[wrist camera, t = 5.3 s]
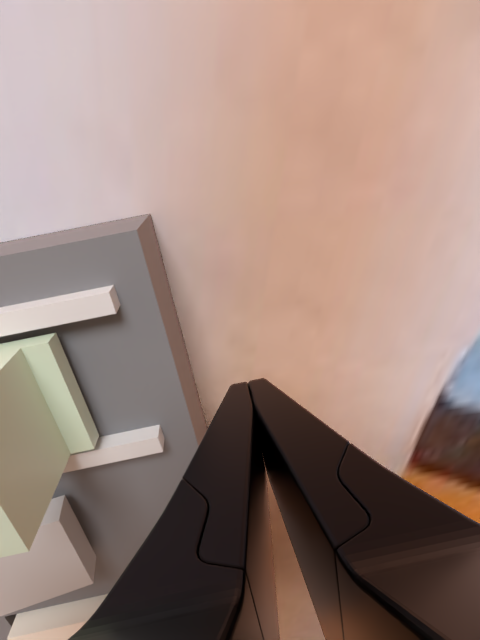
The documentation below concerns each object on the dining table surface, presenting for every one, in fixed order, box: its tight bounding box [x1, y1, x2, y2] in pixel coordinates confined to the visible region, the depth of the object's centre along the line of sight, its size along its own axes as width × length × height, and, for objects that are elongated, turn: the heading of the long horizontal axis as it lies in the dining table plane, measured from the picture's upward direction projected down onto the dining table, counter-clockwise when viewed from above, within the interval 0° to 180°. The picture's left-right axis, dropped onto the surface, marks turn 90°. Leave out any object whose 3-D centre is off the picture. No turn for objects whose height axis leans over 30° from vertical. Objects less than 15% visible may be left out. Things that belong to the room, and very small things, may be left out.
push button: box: [7, 594, 108, 640], centre depth 16 cm, size 4×4×3 cm
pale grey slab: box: [0, 495, 96, 616], centre depth 12 cm, size 3×5×1 cm
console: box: [0, 214, 207, 640], centre depth 15 cm, size 20×14×4 cm
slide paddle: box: [0, 333, 99, 558], centre depth 9 cm, size 4×2×4 cm, turn 10°
